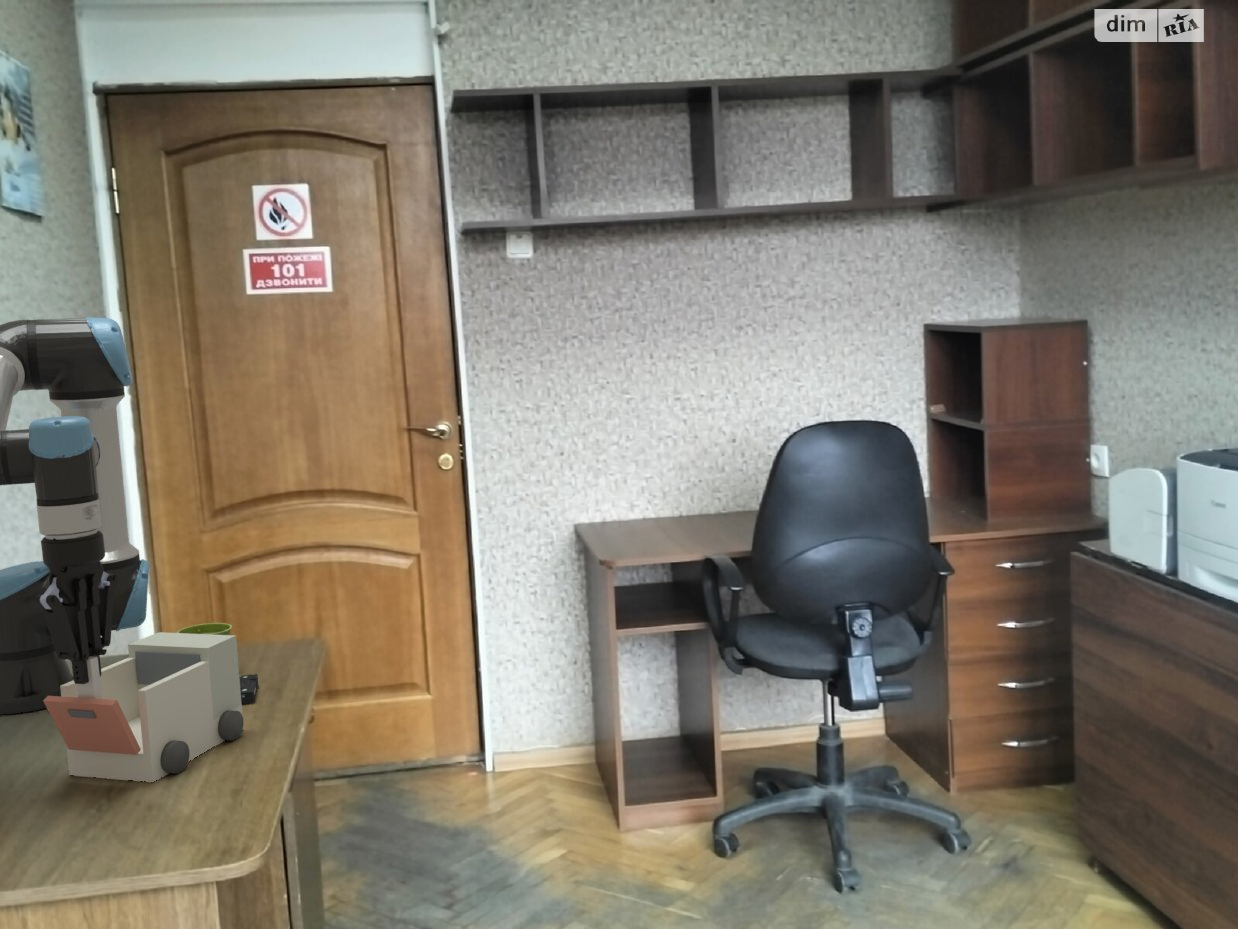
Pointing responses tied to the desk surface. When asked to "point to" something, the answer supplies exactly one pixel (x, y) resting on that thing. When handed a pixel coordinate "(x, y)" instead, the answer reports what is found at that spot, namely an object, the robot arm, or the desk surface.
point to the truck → (167, 704)
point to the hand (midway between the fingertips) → (90, 703)
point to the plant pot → (208, 629)
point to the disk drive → (248, 688)
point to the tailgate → (92, 724)
